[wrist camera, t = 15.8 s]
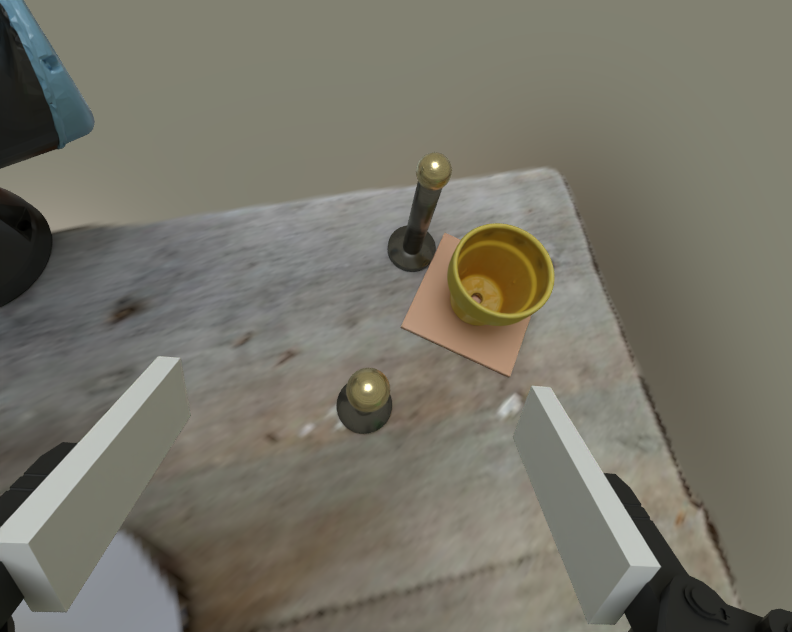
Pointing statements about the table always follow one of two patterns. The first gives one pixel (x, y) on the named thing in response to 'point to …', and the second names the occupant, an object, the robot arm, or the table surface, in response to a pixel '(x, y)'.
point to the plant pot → (499, 275)
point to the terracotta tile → (446, 329)
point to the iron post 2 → (420, 216)
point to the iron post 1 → (365, 401)
